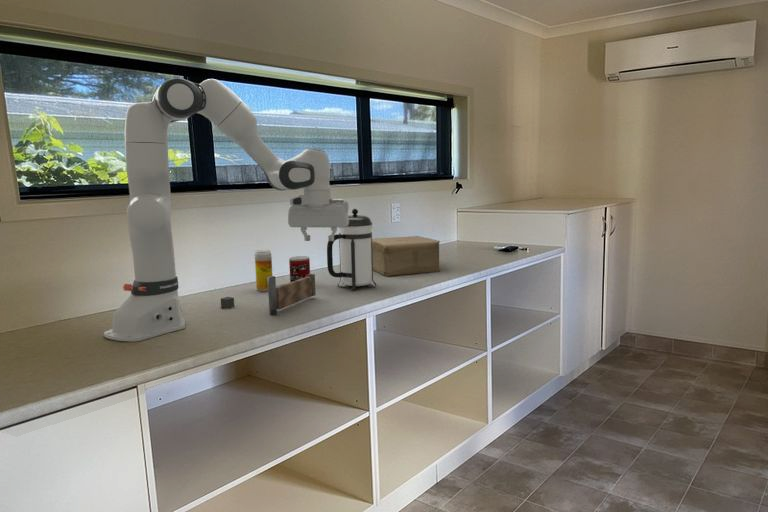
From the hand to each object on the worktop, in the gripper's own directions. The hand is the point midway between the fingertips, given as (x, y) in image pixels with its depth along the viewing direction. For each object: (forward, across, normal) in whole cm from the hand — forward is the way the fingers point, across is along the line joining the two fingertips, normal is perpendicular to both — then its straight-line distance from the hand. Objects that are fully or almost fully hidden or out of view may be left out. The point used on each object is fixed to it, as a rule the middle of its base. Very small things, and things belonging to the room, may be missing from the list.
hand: (319, 240), depth 179 cm
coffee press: (+22, -5, -25) cm, 33 cm away
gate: (+20, +8, +3) cm, 22 cm away
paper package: (+22, -16, -64) cm, 69 cm away
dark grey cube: (+21, +30, +9) cm, 38 cm away
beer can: (+22, +28, -16) cm, 39 cm away
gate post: (+21, +11, +16) cm, 28 cm away
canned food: (+22, +18, -26) cm, 38 cm away
